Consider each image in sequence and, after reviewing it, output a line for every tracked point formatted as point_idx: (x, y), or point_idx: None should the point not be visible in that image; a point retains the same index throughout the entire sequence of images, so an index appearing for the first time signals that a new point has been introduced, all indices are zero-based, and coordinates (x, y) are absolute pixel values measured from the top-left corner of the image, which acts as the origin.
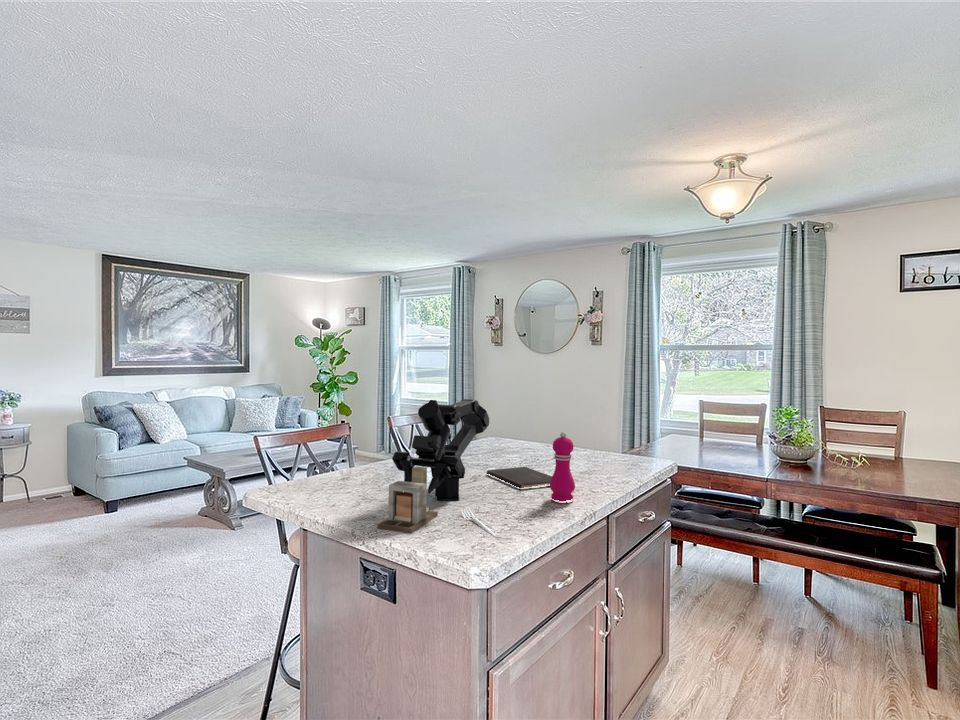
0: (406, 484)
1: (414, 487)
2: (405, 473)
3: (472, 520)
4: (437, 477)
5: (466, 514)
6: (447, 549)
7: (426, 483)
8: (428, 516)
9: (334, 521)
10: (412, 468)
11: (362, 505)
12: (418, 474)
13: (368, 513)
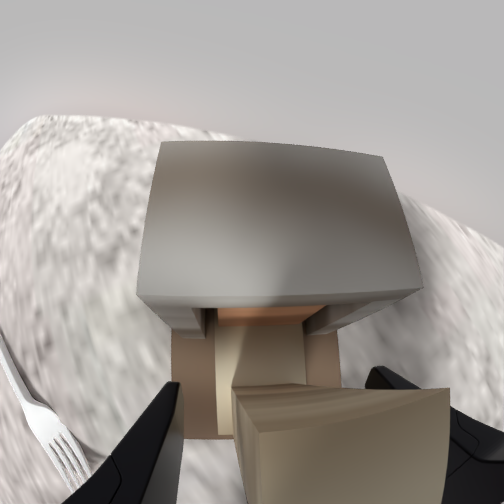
0: (299, 199)
1: (191, 150)
2: (468, 424)
3: (32, 397)
4: (96, 480)
5: (70, 457)
6: (66, 152)
7: (242, 477)
8: (180, 358)
9: (438, 220)
10: (444, 389)
11: (479, 380)
12: (315, 408)
13: (431, 326)
